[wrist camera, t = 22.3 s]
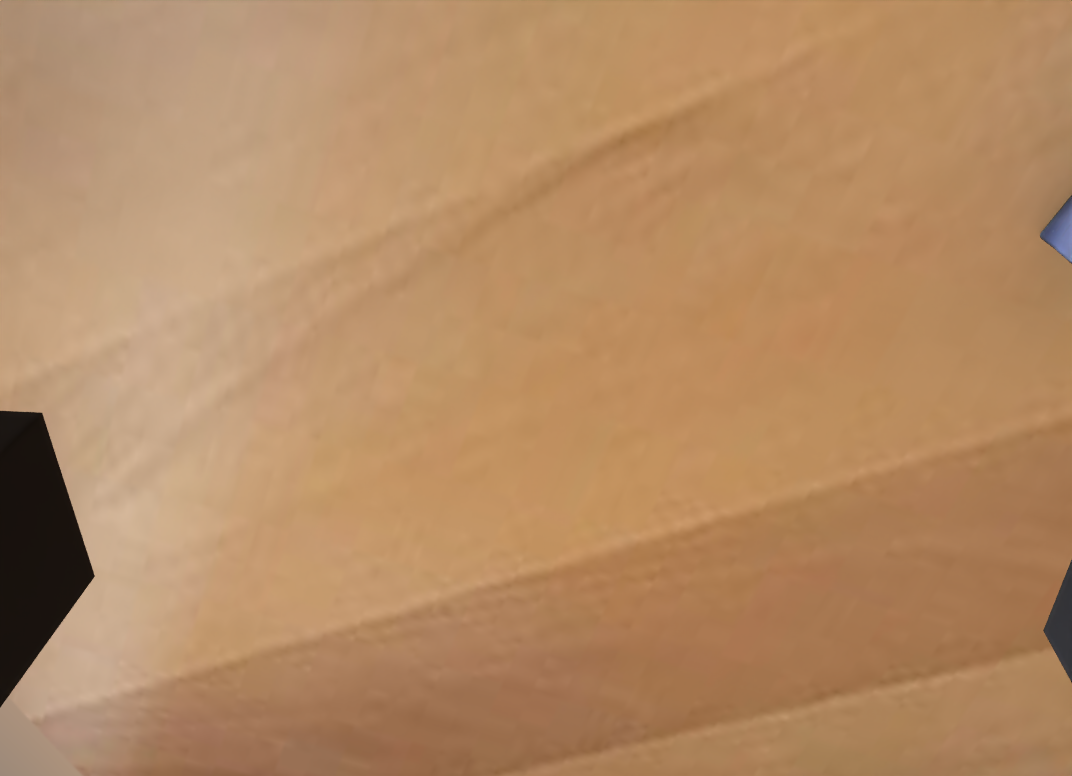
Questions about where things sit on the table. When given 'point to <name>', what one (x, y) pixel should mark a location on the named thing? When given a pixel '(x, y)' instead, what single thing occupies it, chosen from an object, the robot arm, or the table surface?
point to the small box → (1060, 231)
